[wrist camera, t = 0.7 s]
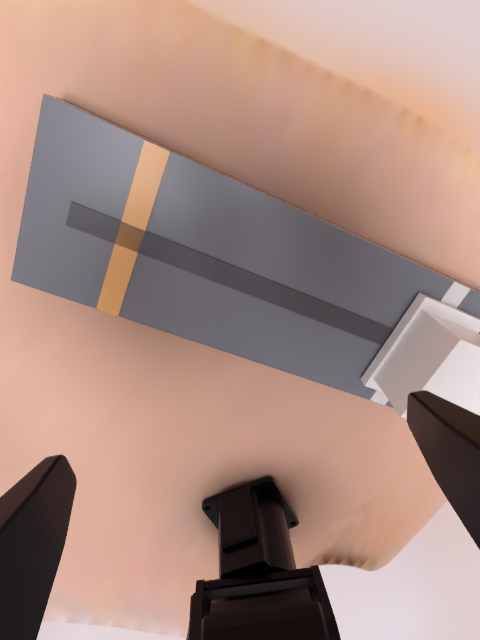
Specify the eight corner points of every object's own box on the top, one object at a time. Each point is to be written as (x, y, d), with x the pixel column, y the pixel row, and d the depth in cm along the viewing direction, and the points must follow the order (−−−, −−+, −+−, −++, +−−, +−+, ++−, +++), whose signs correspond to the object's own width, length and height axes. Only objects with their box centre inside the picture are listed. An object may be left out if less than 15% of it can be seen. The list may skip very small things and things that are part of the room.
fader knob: (478, 317, 21) (535, 354, 18) (415, 398, 24) (454, 446, 20) (419, 292, 20) (467, 325, 16) (360, 379, 23) (390, 425, 19)
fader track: (501, 300, 23) (526, 314, 22) (420, 403, 27) (436, 422, 25) (61, 99, 17) (42, 93, 15) (28, 268, 20) (9, 280, 18)
